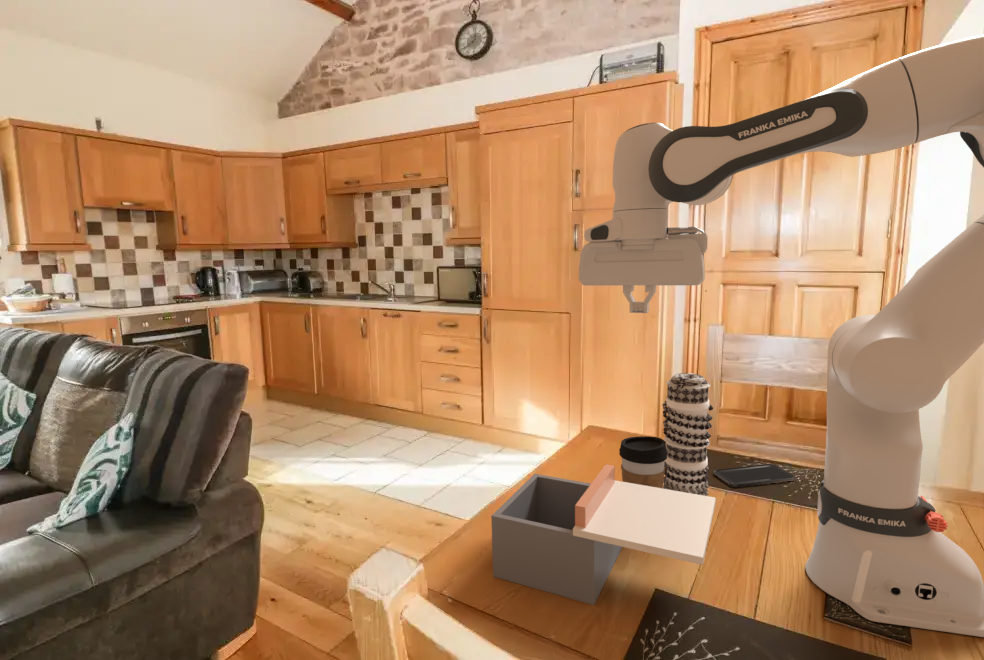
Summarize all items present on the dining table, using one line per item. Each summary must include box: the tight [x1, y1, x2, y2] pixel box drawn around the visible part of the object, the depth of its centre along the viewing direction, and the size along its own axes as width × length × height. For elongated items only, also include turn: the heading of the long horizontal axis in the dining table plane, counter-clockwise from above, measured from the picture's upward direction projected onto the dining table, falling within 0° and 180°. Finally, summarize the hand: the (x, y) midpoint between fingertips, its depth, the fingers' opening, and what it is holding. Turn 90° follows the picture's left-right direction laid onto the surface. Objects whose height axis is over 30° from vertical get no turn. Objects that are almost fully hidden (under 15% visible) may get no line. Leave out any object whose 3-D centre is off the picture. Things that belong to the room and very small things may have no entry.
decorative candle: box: [662, 372, 714, 496], centre depth 104 cm, size 9×9×25 cm
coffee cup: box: [618, 435, 667, 489], centre depth 97 cm, size 8×8×15 cm
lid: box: [573, 464, 717, 566], centre depth 78 cm, size 17×18×4 cm
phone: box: [713, 463, 796, 488], centre depth 115 cm, size 8×1×15 cm
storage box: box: [491, 473, 623, 606], centre depth 85 cm, size 16×17×10 cm
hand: (639, 312), depth 89 cm, fingers closed
